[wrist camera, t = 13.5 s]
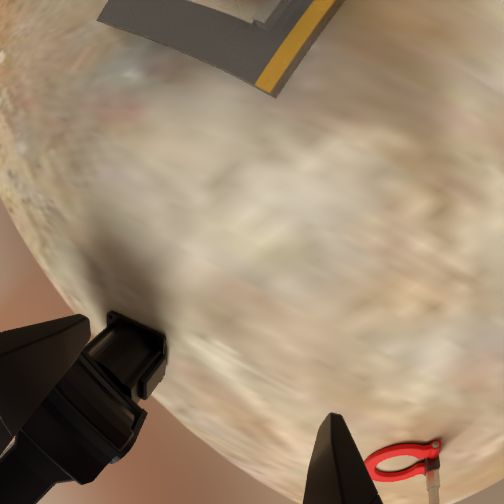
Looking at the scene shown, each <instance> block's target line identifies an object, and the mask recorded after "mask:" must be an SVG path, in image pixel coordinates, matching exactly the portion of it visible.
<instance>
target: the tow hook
mask: <svg viewBox="0 0 504 504" xmlns="http://www.w3.org/2000/svg"><path fill="white" fill-rule="evenodd" d="M440 447H441V442H440V441H438V440H435V441H432V442H431V443H430V445H425V446H422V445H417V444H401V445H394V446H390V447H387V448H384V449H381V450H379V451H377V452H375V453H373V454H372V455H370V456H369V457H368V458H367V459H366V460H365V461H364V463H365V466H366V468H367V470H368V472H369V474H370V476H371V479H372V480H374V481H380V482H394V481H400V480H404V479H408V478H410V477H413V476H415V475H418V474H423V475H425V476H426V485H427V491H428V492H429V504H439V487H440V477H439V468H440V460H439V451H440ZM400 455H410V456H414V457H416V458H418V459H422V458H425V461H424V463H418V464H415V465H414V466H413V467H411V468H409V469H407V470H404V471H401V472H395V473H385V472H381V471H378V470H377V469H376V468H375V467H376V465H377V464H378V463H379V462H381V461H383V460H385V459H388V458H391V457H394V456H400Z"/></svg>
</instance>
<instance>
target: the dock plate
mask: <svg viewBox="0 0 504 504" xmlns="http://www.w3.org/2000/svg"><path fill="white" fill-rule="evenodd" d="M344 1H345V0H108V2H107V4H106V5H105V7H104V8H103V10H102V12H101V14H100V15H99V17H98V19H97V20H96V21H99V22H102V23H104V24H107V25H109V26H112V27H115V28H119V29H122V30H125V31H128V32H131V33H134V34H137V35H139V36H142V37H145V38H148V39H151V40H153V41H156V42H158V43H161V44H164V45H166V46H169V47H171V48H174V49H176V50H178V51H181V52H183V53H186V54H188V55H190V56H192V57H195V58H197V59H199V60H201V61H204V62H206V63H208V64H210V65H212V66H214V67H216V68H219V69H221V70H223V71H225V72H227V73H229V74H231V75H233V76H235V77H237V78H239V79H241V80H243V81H244V82H246V83H248V84H250V85H252V86H254V87H256V88H258V89H259V90H261V91H263V92H265V93H267V94H268V95H270V96H272V97H274V98H275V99H276V98H277V96H278V94H279V93H280V91H281V90H282V88H283V87H284V85H285V84H286V82H287V81H288V79H289V78H290V76H291V75H292V74H293V72H294V71H295V69H296V68H297V66H298V65H299V63H300V62H301V60H302V59H303V57H304V56H305V55H306V53H307V52H308V50H309V49H310V47H311V46H312V45H313V43H314V42H315V40H316V39H317V38H318V36H319V35H320V33H321V32H322V31H323V29H324V28H325V27H326V25H327V24H328V22H329V21H330V20H331V18H332V17H333V16H334V14H335V13H336V12H337V10H338V9H339V8H340V6H341V5H342V4H343V2H344Z"/></svg>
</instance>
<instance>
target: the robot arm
mask: <svg viewBox="0 0 504 504" xmlns="http://www.w3.org/2000/svg"><path fill="white" fill-rule="evenodd" d="M90 336H91V331H90V321H89V319H88V318H87V317H86V316H84V315H82V314H76V315H72V316H68V317H63V318H59V319H55V320H51V321H46V322H43V323H38V324H34V325H29V326H25V327H21V328H16V329H12V330H8V331H4V332H2V333H1V332H0V504H36V503H37V502H38V501H39V500H40V499H41V498H42V497H43V496H44V495H45V494H46V493H47V492H48V491H49V490H50V489H51V488H52V487H53V486H54V485H55V484H56V483H62V482H69V481H76V482H78V483H79V484H80V485H83V484H86V483H90V482H92V481H94V480H95V478H96V477H97V476H98V475H99V473H100V472H101V471H102V470H103V469H104V467H105V466H106V465H107V464H108V463H110V464H112V463H115V462H117V461H119V460H120V459H122V458H123V457H124V456H125V455H126V454H127V453H128V452H129V450H130V449H131V448H132V446H133V445H134V443H135V441H136V439H137V436H138V434H139V432H140V429H141V427H142V425H143V423H144V420H145V418H146V416H147V414H148V413H147V412H146V411H145V410H144V409H142V408H141V407H139V406H138V405H137V403H138V402H139V401H140V399H143V400H146V399H148V397H149V396H150V395H151V393H152V392H153V390H154V389H155V388H156V386H157V385H158V383H159V382H161V381H162V379H163V376H164V375H165V369H166V356H165V344H166V338H165V336H164V335H163V334H161V333H159V332H157V331H154V330H152V329H150V328H148V327H145V326H143V325H141V324H139V323H137V322H135V321H132V320H130V319H128V318H126V317H124V316H122V315H120V314H118V313H116V312H114V311H109V312H108V313H107V327H106V328H105V329H104V330H103V331H101V332H100V333H99V334H98V335H97V336H96V337H95V338H94V339H93V340H91V341H90V342H89V343H88V341H89V339H90ZM159 338H160V339H159ZM87 343H88V344H87ZM86 344H87V345H86ZM85 345H86V346H85ZM15 435H16V437H15V441H14V442H13V443H12V444H11V445H10V446H9V447H8V448H7V449H6V447H7V446H8V445H9V443H10V442H11V441H12V439H13V438H14V436H15ZM5 449H6V450H5ZM4 450H5V451H4ZM3 451H4V452H3ZM377 494H378V492H377V489H376V487H375V485H374V483H373V481H372V479H371V476H370V474H369V472H368V470H367V468H366V466H365V463H364V461H363V459H362V457H361V455H360V453H359V451H358V448H357V446H356V444H355V442H354V440H353V438H352V436H351V433H350V431H349V429H348V427H347V425H346V423H345V421H344V418H343V416H342V415H340V414H336V413H329V414H328V415H327V417H326V418H325V420H324V421H323V423H322V424H321V425H320V427H319V430H318V433H317V437H316V441H315V445H314V449H313V453H312V457H311V460H310V464H309V468H308V474H307V480H306V487H305V493H304V499H303V504H383V502H382V500H381V498H380V496H379V495H377Z"/></svg>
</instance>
